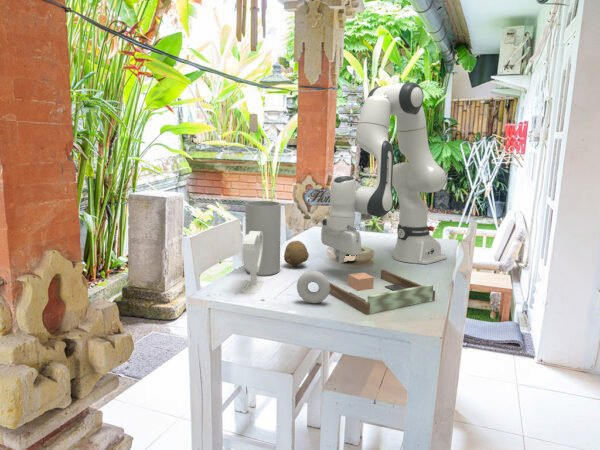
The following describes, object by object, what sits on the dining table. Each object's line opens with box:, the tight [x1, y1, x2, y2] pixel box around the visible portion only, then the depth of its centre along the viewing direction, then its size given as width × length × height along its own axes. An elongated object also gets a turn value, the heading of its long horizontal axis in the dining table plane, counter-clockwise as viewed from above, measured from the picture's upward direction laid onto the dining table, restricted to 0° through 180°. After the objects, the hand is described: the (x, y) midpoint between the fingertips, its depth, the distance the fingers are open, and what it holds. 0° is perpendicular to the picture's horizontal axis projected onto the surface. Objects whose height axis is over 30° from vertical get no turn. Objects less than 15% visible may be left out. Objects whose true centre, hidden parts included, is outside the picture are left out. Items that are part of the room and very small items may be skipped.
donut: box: [296, 270, 330, 304], centre depth 137 cm, size 10×4×10 cm, turn 81°
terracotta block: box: [347, 272, 375, 292], centre depth 153 cm, size 6×6×4 cm
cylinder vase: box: [244, 200, 282, 277], centre depth 166 cm, size 12×12×25 cm
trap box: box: [328, 269, 436, 315], centre depth 146 cm, size 26×25×5 cm
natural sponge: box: [283, 240, 310, 267], centre depth 174 cm, size 9×9×10 cm
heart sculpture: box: [241, 231, 265, 295], centre depth 149 cm, size 16×5×18 cm, turn 174°
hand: (339, 262), depth 162 cm, fingers closed
